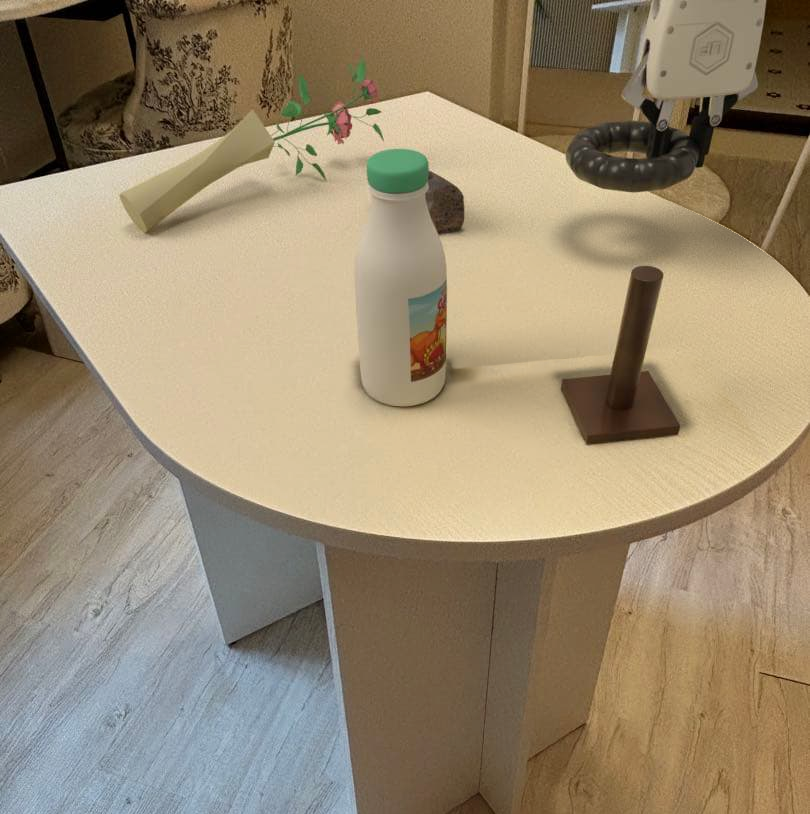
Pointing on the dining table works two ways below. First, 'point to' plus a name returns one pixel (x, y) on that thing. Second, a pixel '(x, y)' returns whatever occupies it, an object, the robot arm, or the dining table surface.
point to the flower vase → (236, 156)
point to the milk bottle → (400, 285)
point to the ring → (628, 173)
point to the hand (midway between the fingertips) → (675, 162)
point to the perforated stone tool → (444, 204)
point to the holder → (625, 377)
